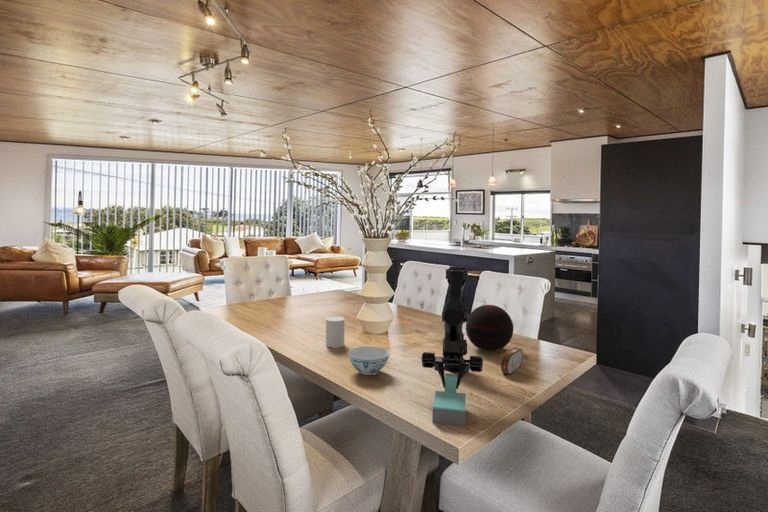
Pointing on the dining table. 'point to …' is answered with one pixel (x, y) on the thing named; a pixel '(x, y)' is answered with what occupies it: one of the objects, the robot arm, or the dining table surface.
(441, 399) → the teal stepped block
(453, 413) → the grey box
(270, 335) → the dining table surface
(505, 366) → the tin
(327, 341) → the gray cylinder
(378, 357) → the chinaware
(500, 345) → the decorative orb
